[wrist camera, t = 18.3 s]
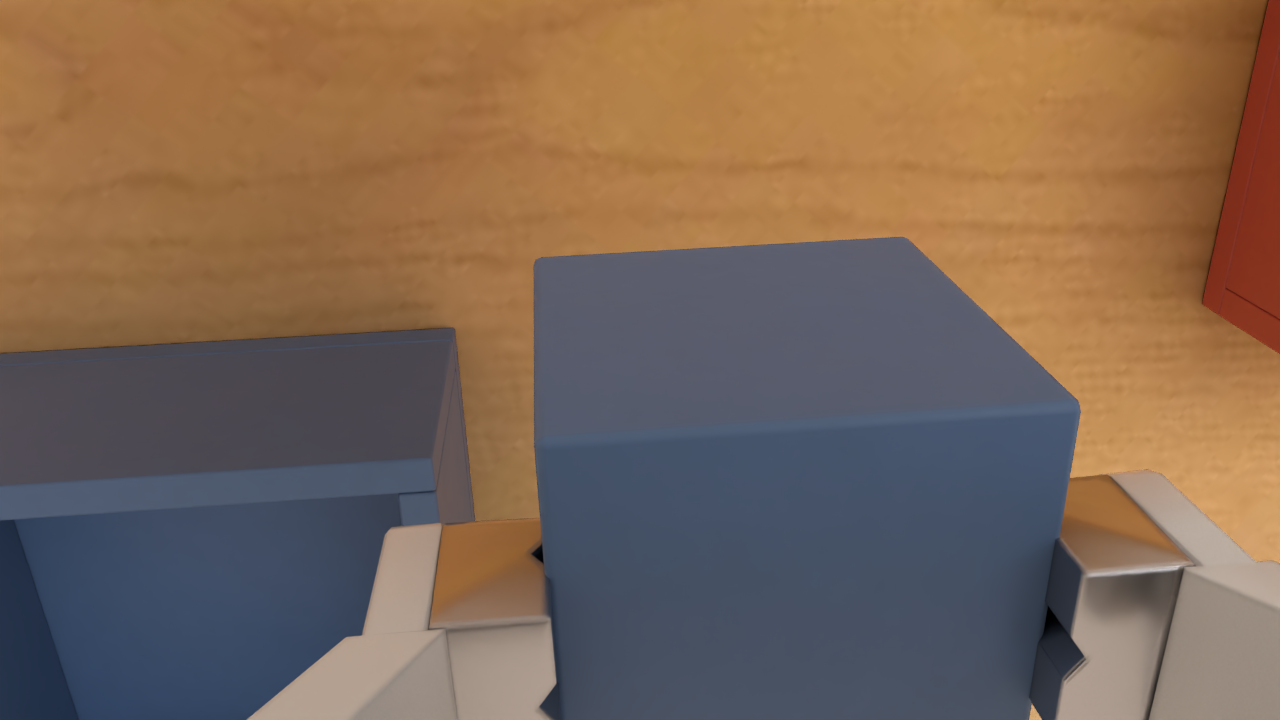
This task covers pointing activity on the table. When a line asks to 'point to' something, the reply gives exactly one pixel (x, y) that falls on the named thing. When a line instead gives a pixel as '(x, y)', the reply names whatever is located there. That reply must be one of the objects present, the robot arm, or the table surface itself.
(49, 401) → the blue bin
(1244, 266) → the red bin
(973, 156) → the table surface
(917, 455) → the blue block
